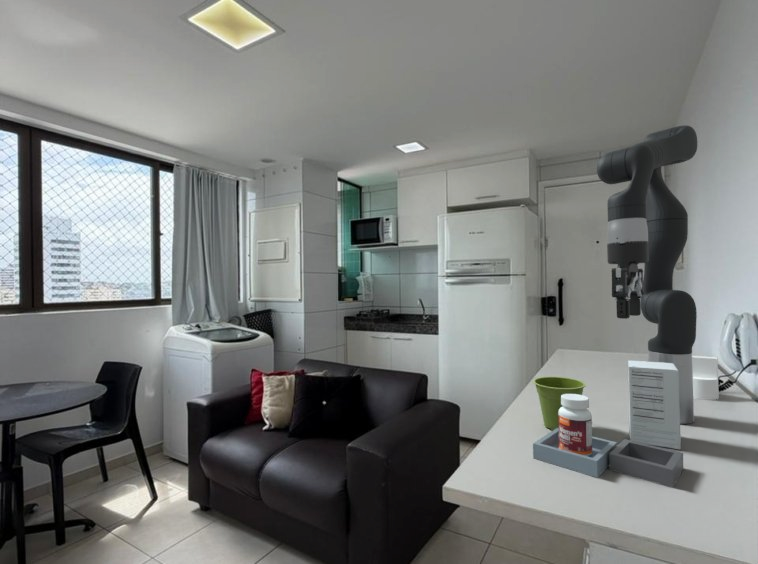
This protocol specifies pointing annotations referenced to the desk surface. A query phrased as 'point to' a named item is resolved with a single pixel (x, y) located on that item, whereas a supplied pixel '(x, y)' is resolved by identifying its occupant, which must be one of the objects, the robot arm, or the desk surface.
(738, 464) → the desk surface
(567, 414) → the pill bottle
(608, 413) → the desk surface
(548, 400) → the plant pot
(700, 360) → the cylinder with rectangular tab
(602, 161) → the robot arm
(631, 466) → the gray hollow square frame
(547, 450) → the parts tray
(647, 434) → the supplement box
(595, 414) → the desk surface
